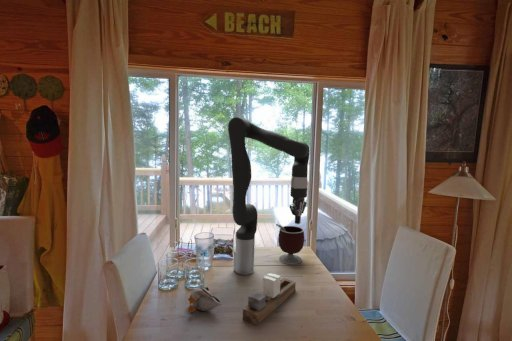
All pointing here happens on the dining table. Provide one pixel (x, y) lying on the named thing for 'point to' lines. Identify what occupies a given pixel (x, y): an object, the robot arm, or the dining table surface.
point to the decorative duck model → (202, 300)
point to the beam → (266, 302)
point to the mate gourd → (290, 243)
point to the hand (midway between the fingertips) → (297, 223)
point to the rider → (271, 286)
